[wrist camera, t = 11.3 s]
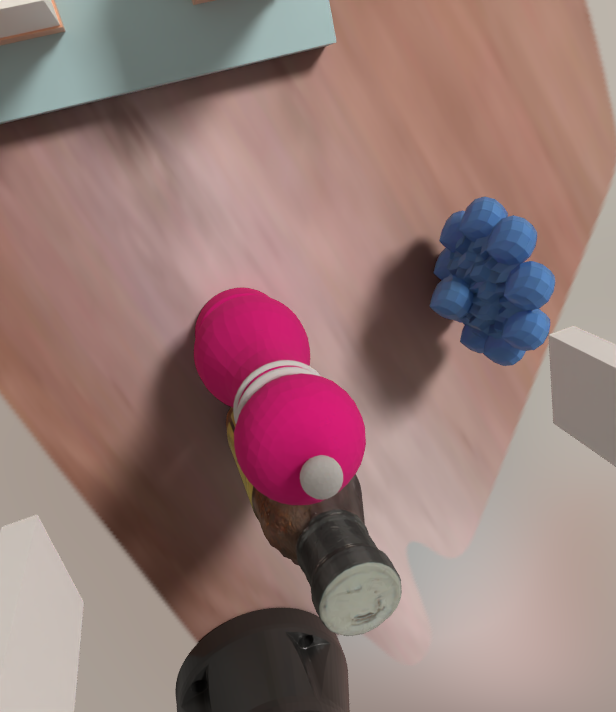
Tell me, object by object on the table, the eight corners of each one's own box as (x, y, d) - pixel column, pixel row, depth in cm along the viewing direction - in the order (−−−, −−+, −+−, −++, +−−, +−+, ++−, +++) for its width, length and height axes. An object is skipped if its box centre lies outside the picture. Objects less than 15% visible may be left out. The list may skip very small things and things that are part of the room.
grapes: (376, 205, 41) (465, 234, 30) (463, 177, 42) (579, 195, 31) (406, 353, 45) (492, 423, 35) (483, 324, 47) (590, 384, 36)
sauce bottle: (285, 461, 46) (385, 673, 28) (210, 442, 44) (268, 662, 26) (318, 387, 44) (447, 563, 27) (242, 364, 42) (328, 539, 24)
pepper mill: (238, 257, 39) (332, 369, 21) (310, 325, 42) (444, 471, 25) (165, 335, 40) (197, 508, 22) (241, 396, 43) (323, 591, 25)
